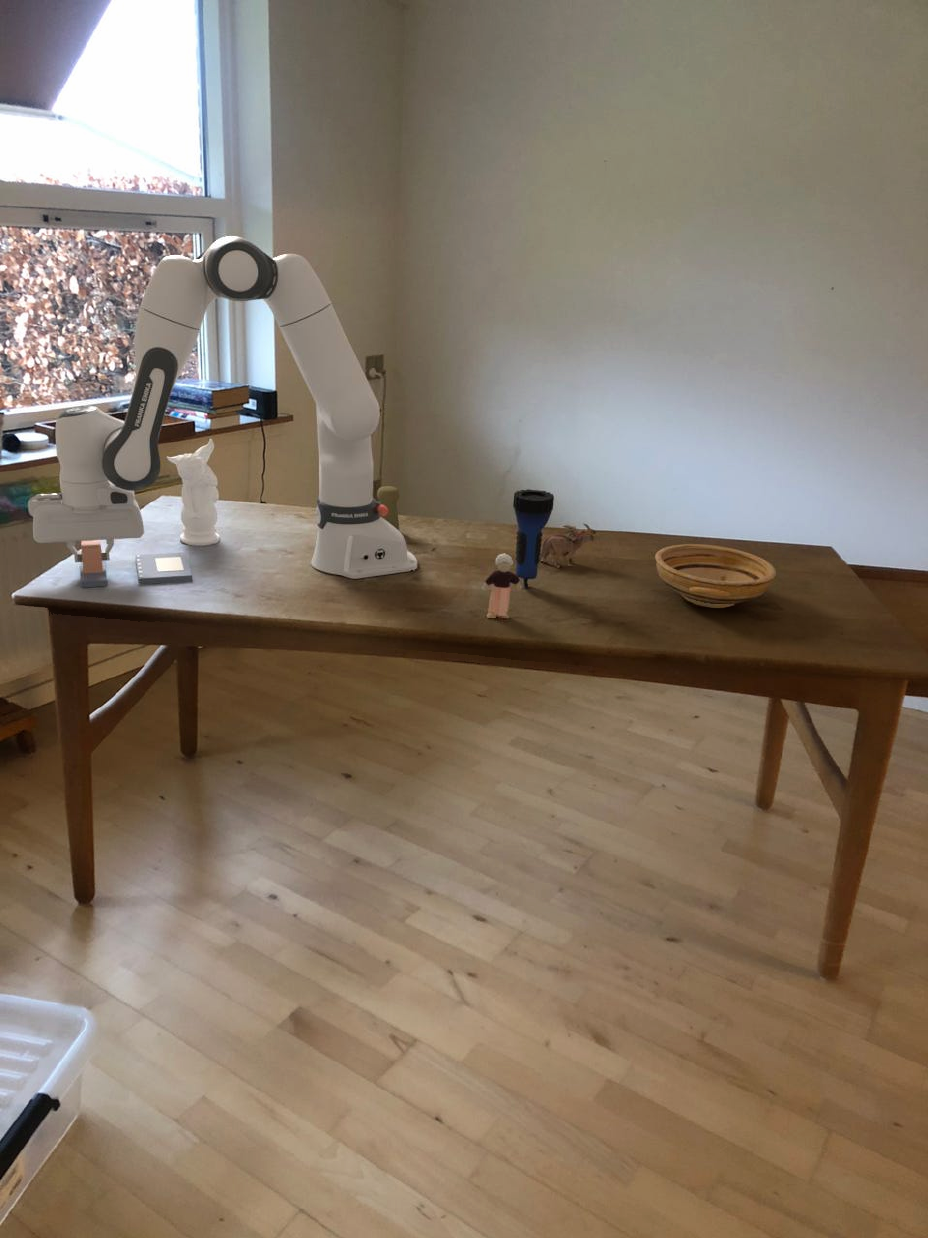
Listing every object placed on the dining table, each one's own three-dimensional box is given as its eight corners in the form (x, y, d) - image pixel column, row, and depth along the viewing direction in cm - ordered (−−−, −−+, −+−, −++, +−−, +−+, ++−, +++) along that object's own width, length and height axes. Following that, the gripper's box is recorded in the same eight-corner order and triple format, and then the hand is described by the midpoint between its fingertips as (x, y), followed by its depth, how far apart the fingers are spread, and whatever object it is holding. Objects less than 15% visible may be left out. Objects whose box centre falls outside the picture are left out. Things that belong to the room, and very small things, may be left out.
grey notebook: (185, 557, 202) (185, 551, 201) (192, 580, 190) (192, 574, 189) (135, 560, 198) (135, 554, 198) (139, 584, 186) (138, 578, 186)
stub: (105, 561, 196) (102, 533, 194) (106, 585, 184) (104, 555, 182) (81, 563, 195) (78, 534, 192) (81, 587, 183) (78, 556, 180)
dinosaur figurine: (578, 556, 218) (582, 517, 215) (592, 565, 214) (597, 525, 210) (526, 562, 213) (530, 522, 209) (539, 570, 208) (543, 530, 204)
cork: (395, 537, 223) (397, 491, 219) (371, 534, 224) (372, 488, 220) (402, 530, 228) (404, 485, 224) (378, 527, 229) (379, 482, 225)
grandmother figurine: (485, 622, 179) (490, 558, 174) (477, 614, 182) (482, 551, 177) (522, 618, 182) (528, 555, 177) (513, 610, 185) (519, 548, 180)
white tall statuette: (199, 550, 207) (193, 450, 198) (154, 540, 211) (146, 442, 202) (234, 535, 217) (230, 440, 208) (191, 526, 221) (185, 431, 213)
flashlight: (517, 597, 192) (525, 501, 184) (499, 583, 199) (507, 490, 191) (551, 593, 195) (561, 498, 188) (533, 579, 202) (541, 488, 194)
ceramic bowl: (768, 634, 182) (776, 595, 179) (641, 613, 188) (647, 575, 185) (769, 584, 208) (776, 549, 205) (657, 567, 214) (662, 533, 211)
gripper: (25, 499, 177) (34, 569, 182) (141, 494, 184) (146, 562, 189) (27, 490, 182) (35, 558, 187) (140, 486, 189) (145, 552, 194)
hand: (92, 560), depth 188 cm, fingers closed on stub, 3 cm apart
